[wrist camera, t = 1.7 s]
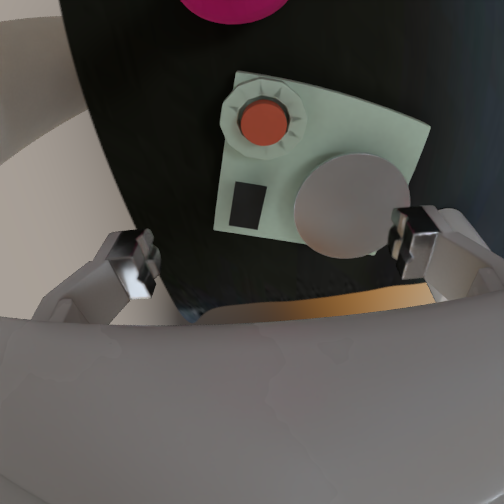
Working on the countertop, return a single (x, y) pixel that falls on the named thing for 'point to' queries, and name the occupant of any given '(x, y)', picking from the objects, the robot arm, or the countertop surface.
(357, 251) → the scale top
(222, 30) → the countertop surface
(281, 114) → the button
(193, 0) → the pepper mill
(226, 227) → the scale
